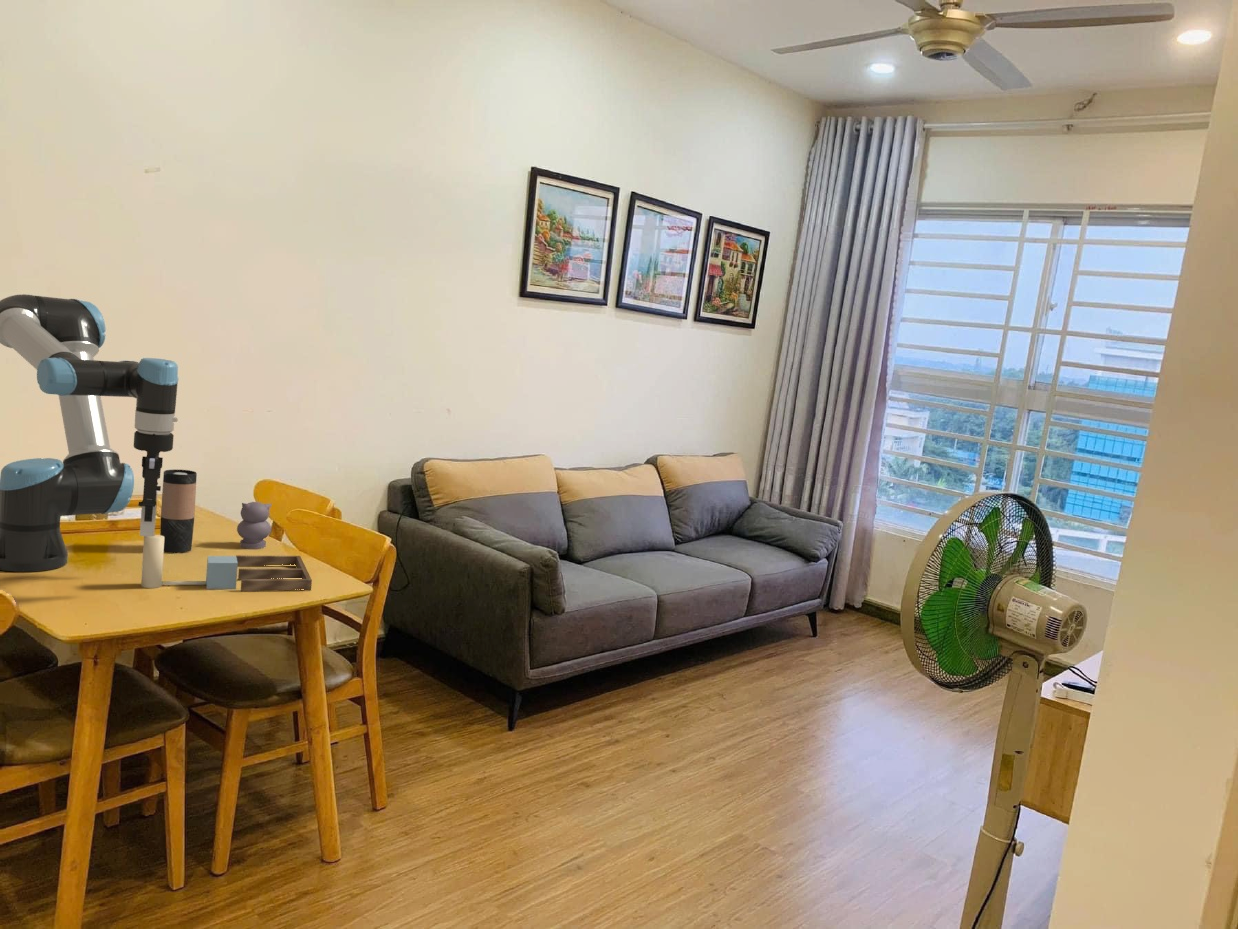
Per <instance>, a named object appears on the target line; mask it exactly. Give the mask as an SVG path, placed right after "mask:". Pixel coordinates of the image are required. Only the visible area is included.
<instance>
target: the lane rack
mask: <svg viewBox="0 0 1238 929" xmlns="http://www.w3.org/2000/svg"><path fill="white" fill-rule="evenodd" d="M235 556H236V558H237V562H238V567H267V566H266V565H282V564H283V565H290V564H291V565H294V564H295V565H296V566H295V568H238V573H237V580H238V581H240V592H263V591H262V590H295V589H296V590H297V589H298V590H299V589H300V590H301V589H304V590H311V591H312V584H313V582H312V581H313V579H312V578H311V577H312V576H311V575H310V573H309V571H308V569H307V567H306V565H305V563H304V561H303V558H302V557H301V555H243V554H241V555H239V554H238V555H235ZM264 565H265V566H264ZM296 567H297V568H296ZM271 578H272V579H271ZM273 578H274V579H273ZM277 578H278V579H277ZM279 578H280V579H279ZM281 578H282V579H281ZM283 578H302V579H283ZM259 590H260V591H259Z"/></svg>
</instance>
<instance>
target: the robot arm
mask: <svg viewBox="0 0 1238 929" xmlns="http://www.w3.org/2000/svg"><path fill="white" fill-rule="evenodd" d="M102 314H103V313H102V312H101V310H100V309H99V308H98V307H97V306H96V305H95V304H94V303H92V302H90V301H85V300H80V299H76V298H60V297H50V296H41V295H33V294H27V293H26V294H14V295H9V296H7V297H5V298H2V299H0V344H1V345H2V346H4V347H6V348H9V349H13V350H14V351H16V353H17V354H18V355H20V356H21V358H23V359H24V360H26V361H27V363H28V364H30V366H32V367H33V368H34V369H35V370H36V380H37V384H38V385H39V386H38V388H39V389H40V390H41V391H42V392H43V393H45V394H47V395H58V399H59V406H60V411H61V417H62V421H63V422H62V423H63V429H64V433H65V440H66V445H67V450H68V454H67V455H66V456H65V458H63V460H60V459H58V458H53V457H52V458H50V457H47V458H45V457H44V458H39V457H37V458H28V459H27V458H26V459H21V460H16V461H13V462H10V463H8V464H6V465H4V466H3V467H2V469H1V470H0V571H4V572H5V571H6V572H16V573H17V572H18V573H20V572H23V573H24V572H26V573H27V572H29V573H30V572H41V571H44V572H45V571H50V570H54V569H58V568H61V567H64V566H66V565H67V564H68V559H69V557H68V555H69V554H68V549H67V548H66V547H67V546H66V544H65V541H64V538H63V535H62V533H61V517H63V516H64V517H66V516H67V517H68V516H82V515H95V514H96V515H97V514H99V515H100V514H101V515H106V514H109V513H110V514H111V513H118V512H120V511H123V510H125V509H126V508H127V507H128V505H129V503H130V502H131V499H132V497H133V493H134V489H135V488H134V487H135V476H134V470H133V469H132V468H133V467H132V468H131V465H130V464H128V463H125V462H121V460H120V454H119V453H118V452H117V451H116V450H114V449H113V448H111V445H110V440H109V435H108V430H107V425H106V424H107V423H106V419H105V413H104V409H103V403H102V402H103V401H102V399H101V398H102V397H118V398H120V397H123V398H125V397H126V398H134V399H136V401H135V403H136V405H135V406H136V407H135V415H134V428H135V430H136V431H135V432H134V433H133V434H134V435H133V448H134V449H135V450H138V451H141V452H142V451H143V452H144V451H145V452H146V455H145V456H143V455H142V458H141V468H142V474H141V476H142V478H143V479H144V480H143V494H142V501H138V507H141V513H140V526H139V527H140V528H139V536H140V537H144V536H154V535H155V531H156V530H155V529H156V519H157V518H156V517H157V516H156V515H157V504H158V502H157V501H158V492H161V488H162V486H161V485H159V482H158V481H159V479H161V471H162V470H161V469H162V468H163V458H164V457H160V453H161V452H162V453H166V452H170V451H172V450H173V448H174V436H175V435H174V434H173V433H172V432H173V431H174V429H175V423H177V422H179V421H178V417H175V416H176V415H175V414H176V406H177V405H176V403H177V395H178V394H177V393H178V382H179V376H178V371H179V370H178V369H179V366H178V364H177V362H175V361H173V360H168V359H165V358H164V359H163V358H153V357H145V358H144V357H143V358H141V359H140V360H139V362H138V361H135V360H119V361H109V360H95V359H94V358H95V357H96V356H97V355H98V353H99V351H100V348H101V347H102V346H103V345H104V344H105V340H106V333H105V332H106V329H107V328H106V323H105V320H104V316H103V315H102Z"/></svg>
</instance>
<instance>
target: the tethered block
mask: <svg viewBox="0 0 1238 929" xmlns="http://www.w3.org/2000/svg"><path fill="white" fill-rule="evenodd" d="M142 548H143V550H142V564H141V565H142V568H141V583H140V584H141V588H144V589H158V588H161V587H162V586H172V585H173V586H174V585H175V586H177V585H178V586H179V585H180V586H182V585H183V586H184V585H185V586H186V585H187V586H189V585H190V586H191V585H194V586H198V585H201V586H202V585H205V586H206V587H205V588H206V590H237V580H238V567H239V566H238V562H237V558H236V555H215V556H214V555H207V562H206V573H205V574H206V575H205V576H206V577H205V580H168V581H167V580H164V581H163V568H164V553H165V552H164V536H161V535H160V534H154V536H143V547H142Z"/></svg>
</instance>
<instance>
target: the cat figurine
mask: <svg viewBox="0 0 1238 929" xmlns="http://www.w3.org/2000/svg"><path fill="white" fill-rule="evenodd" d="M272 505H273V502H272V503H262V502H261V501H251V502H248V503H244V502H241V510H240V516H241V519H242V521H240V522H239V523H238V525H236V526H237V527H236V531H237V534H238V535H239V536H240V537H241V538H242V539H241V540H240V541H239V547H240V548H243V549H247V550H262V549H265V548H266V547H267V545H266V544H267V541H266V540H264V539H266V538H267V537H268V536H269V535H270V534H271V532H272V526H271V524H270V522H269V521H267V520H268V518H269V517H270V509H271V507H272ZM264 547H265V548H264ZM261 548H262V549H261Z"/></svg>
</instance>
